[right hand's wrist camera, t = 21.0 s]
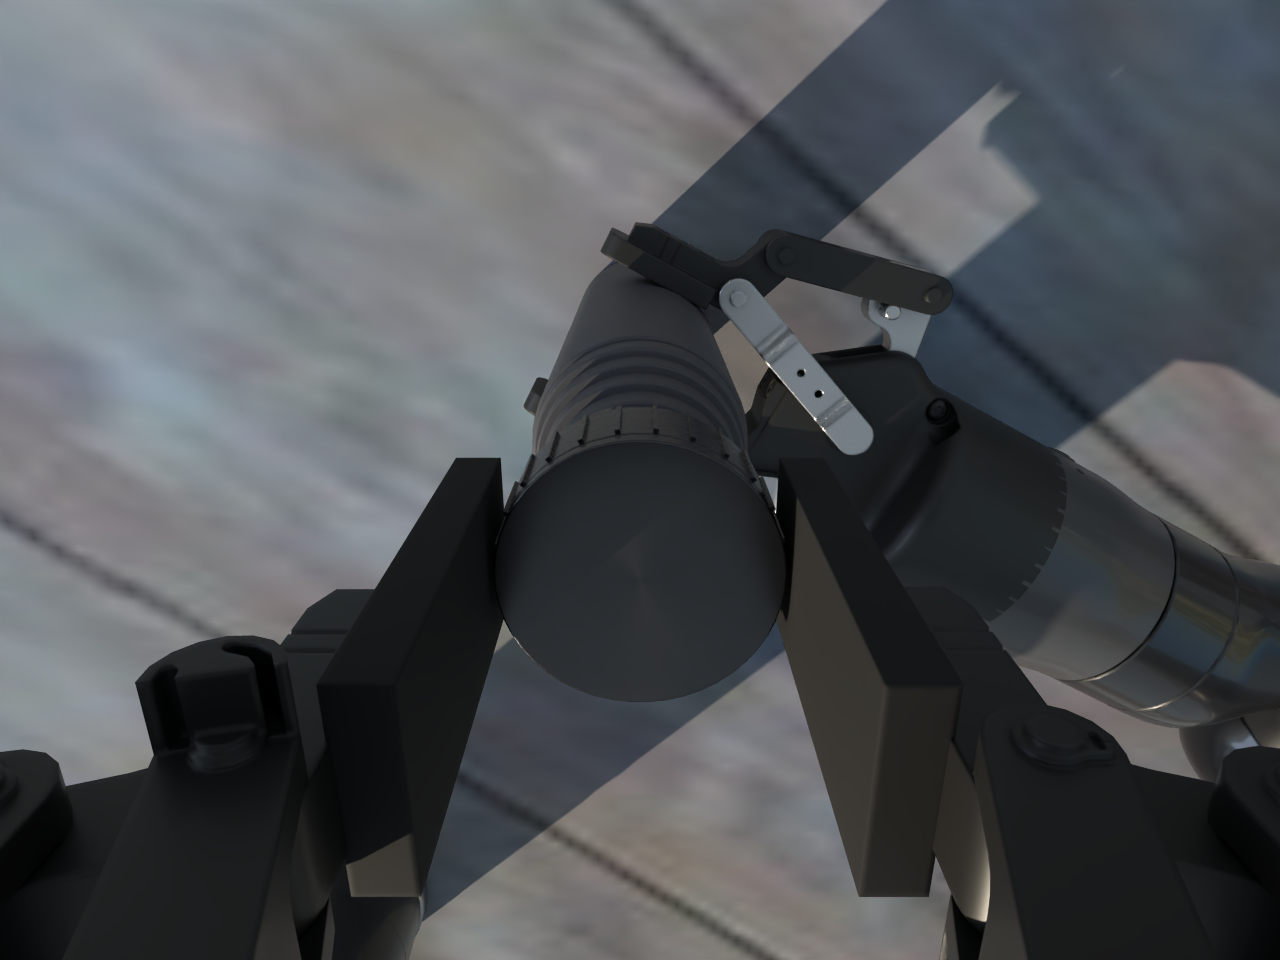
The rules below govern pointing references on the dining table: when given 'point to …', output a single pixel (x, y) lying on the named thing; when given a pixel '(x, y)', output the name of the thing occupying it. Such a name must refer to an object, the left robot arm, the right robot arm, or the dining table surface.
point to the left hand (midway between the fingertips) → (569, 319)
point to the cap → (640, 556)
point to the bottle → (638, 360)
